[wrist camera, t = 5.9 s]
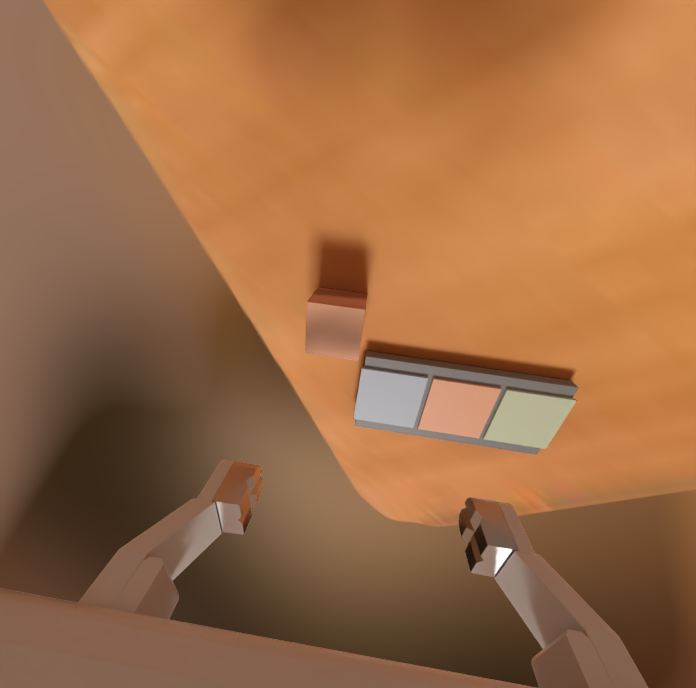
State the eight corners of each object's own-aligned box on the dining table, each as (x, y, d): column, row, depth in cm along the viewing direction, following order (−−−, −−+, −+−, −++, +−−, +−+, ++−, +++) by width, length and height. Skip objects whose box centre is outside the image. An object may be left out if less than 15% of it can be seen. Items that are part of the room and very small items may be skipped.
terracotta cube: (318, 287, 24) (306, 301, 20) (367, 293, 24) (365, 309, 20) (316, 331, 26) (305, 353, 22) (361, 337, 26) (358, 360, 22)
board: (364, 350, 26) (363, 357, 25) (572, 380, 26) (583, 389, 24) (353, 418, 30) (352, 427, 29) (533, 446, 30) (540, 457, 28)
